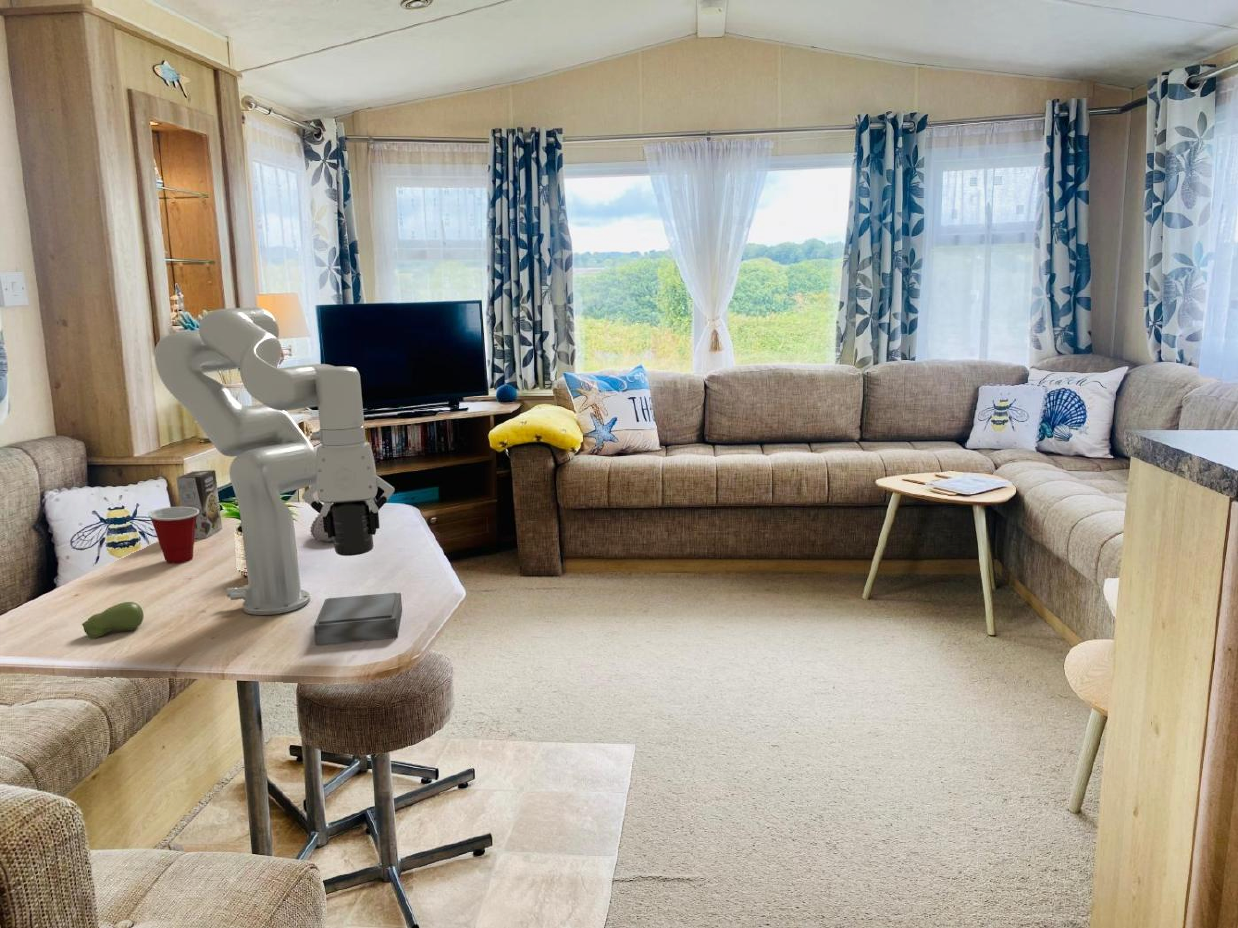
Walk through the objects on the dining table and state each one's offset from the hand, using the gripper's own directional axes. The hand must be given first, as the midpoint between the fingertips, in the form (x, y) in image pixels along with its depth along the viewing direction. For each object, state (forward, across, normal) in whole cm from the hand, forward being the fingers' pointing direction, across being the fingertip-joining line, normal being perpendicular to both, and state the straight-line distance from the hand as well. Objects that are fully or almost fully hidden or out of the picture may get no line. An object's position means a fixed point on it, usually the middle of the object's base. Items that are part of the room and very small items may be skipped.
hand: (352, 533), depth 164 cm
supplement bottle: (+3, 0, 0) cm, 3 cm away
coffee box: (+18, -48, +80) cm, 95 cm away
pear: (+18, -46, +10) cm, 50 cm away
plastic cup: (+18, -47, +56) cm, 75 cm away
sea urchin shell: (+18, -12, +66) cm, 70 cm away
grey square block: (+18, 0, 0) cm, 18 cm away
